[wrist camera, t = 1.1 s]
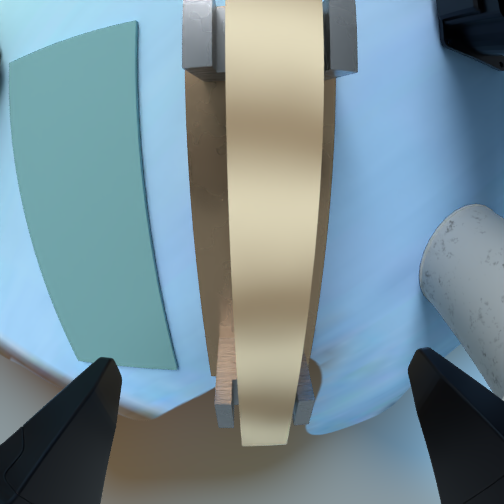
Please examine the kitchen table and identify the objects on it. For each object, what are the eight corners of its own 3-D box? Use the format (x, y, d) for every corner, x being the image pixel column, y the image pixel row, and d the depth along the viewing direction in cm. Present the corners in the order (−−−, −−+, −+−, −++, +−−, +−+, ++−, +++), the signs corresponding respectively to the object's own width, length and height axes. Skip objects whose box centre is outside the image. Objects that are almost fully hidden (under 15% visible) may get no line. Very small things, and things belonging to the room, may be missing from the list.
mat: (138, 21, 13) (135, 20, 12) (177, 366, 25) (177, 369, 24) (12, 63, 12) (9, 63, 12) (79, 357, 24) (78, 360, 24)
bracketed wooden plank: (188, 14, 13) (157, -33, 7) (329, 16, 13) (376, -25, 7) (212, 367, 25) (206, 437, 18) (305, 364, 25) (319, 432, 19)
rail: (229, -13, 9) (225, -43, 6) (303, -10, 9) (319, -38, 6) (241, 411, 20) (241, 446, 17) (282, 410, 20) (286, 444, 17)
